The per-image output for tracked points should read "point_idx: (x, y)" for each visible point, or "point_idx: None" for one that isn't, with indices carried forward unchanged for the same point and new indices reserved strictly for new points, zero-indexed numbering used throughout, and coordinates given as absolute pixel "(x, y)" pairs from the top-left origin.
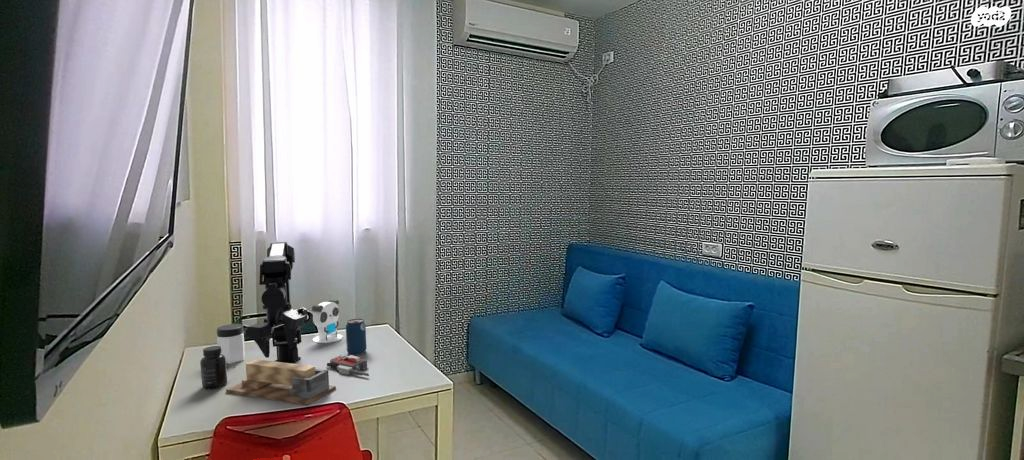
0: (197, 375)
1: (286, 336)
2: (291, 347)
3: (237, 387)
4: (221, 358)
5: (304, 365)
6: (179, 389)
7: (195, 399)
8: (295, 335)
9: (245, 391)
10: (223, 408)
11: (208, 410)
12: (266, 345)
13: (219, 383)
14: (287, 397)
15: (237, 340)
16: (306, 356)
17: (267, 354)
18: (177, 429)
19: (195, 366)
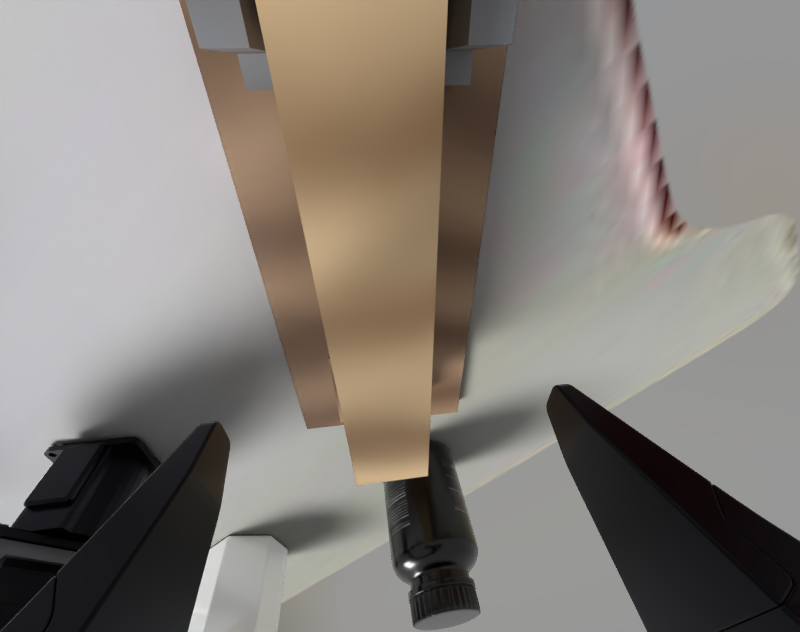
0: (374, 524)
1: (183, 620)
2: (216, 425)
3: (433, 396)
4: (434, 552)
5: (283, 77)
6: (464, 491)
7: (518, 424)
8: (40, 608)
9: (459, 348)
10: (584, 308)
11: (600, 336)
12: (765, 524)
13: (432, 453)
14: (485, 76)
15: (225, 625)
16: (9, 450)
17: (602, 409)
18: (746, 300)
19: (332, 558)
